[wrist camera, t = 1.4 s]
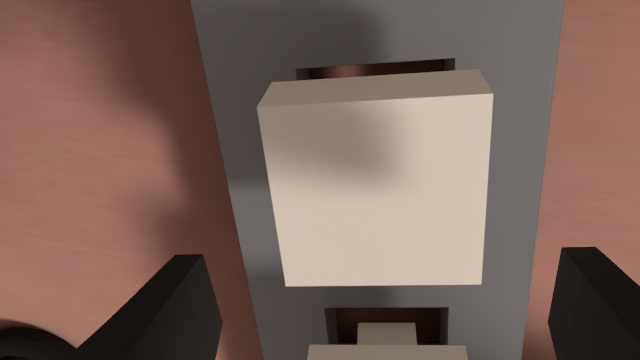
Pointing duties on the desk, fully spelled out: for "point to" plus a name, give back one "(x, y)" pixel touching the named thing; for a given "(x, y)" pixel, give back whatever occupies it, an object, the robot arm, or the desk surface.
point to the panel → (383, 47)
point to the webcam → (32, 345)
